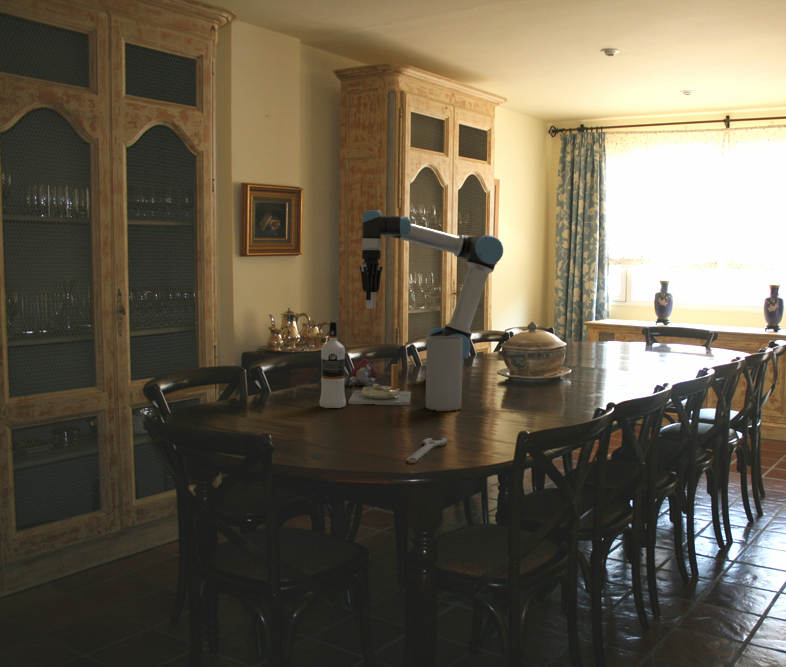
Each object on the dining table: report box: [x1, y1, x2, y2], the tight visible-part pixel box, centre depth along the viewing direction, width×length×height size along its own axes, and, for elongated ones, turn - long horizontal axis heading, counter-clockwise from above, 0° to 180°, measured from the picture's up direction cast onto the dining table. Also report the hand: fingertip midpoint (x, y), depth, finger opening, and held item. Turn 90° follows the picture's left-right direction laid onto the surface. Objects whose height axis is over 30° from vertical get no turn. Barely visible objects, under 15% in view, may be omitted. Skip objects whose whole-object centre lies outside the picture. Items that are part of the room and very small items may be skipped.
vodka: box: [319, 321, 347, 409], centre depth 257 cm, size 9×9×30 cm
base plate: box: [347, 389, 412, 406], centre depth 274 cm, size 22×22×1 cm
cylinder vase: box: [425, 335, 463, 412], centre depth 257 cm, size 12×12×25 cm
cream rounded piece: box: [361, 363, 401, 399], centre depth 273 cm, size 14×14×11 cm
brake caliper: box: [348, 358, 378, 387], centre depth 304 cm, size 11×11×12 cm
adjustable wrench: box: [406, 437, 448, 462], centre depth 198 cm, size 25×6×2 cm, turn 155°
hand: (370, 308), depth 296 cm, fingers closed
